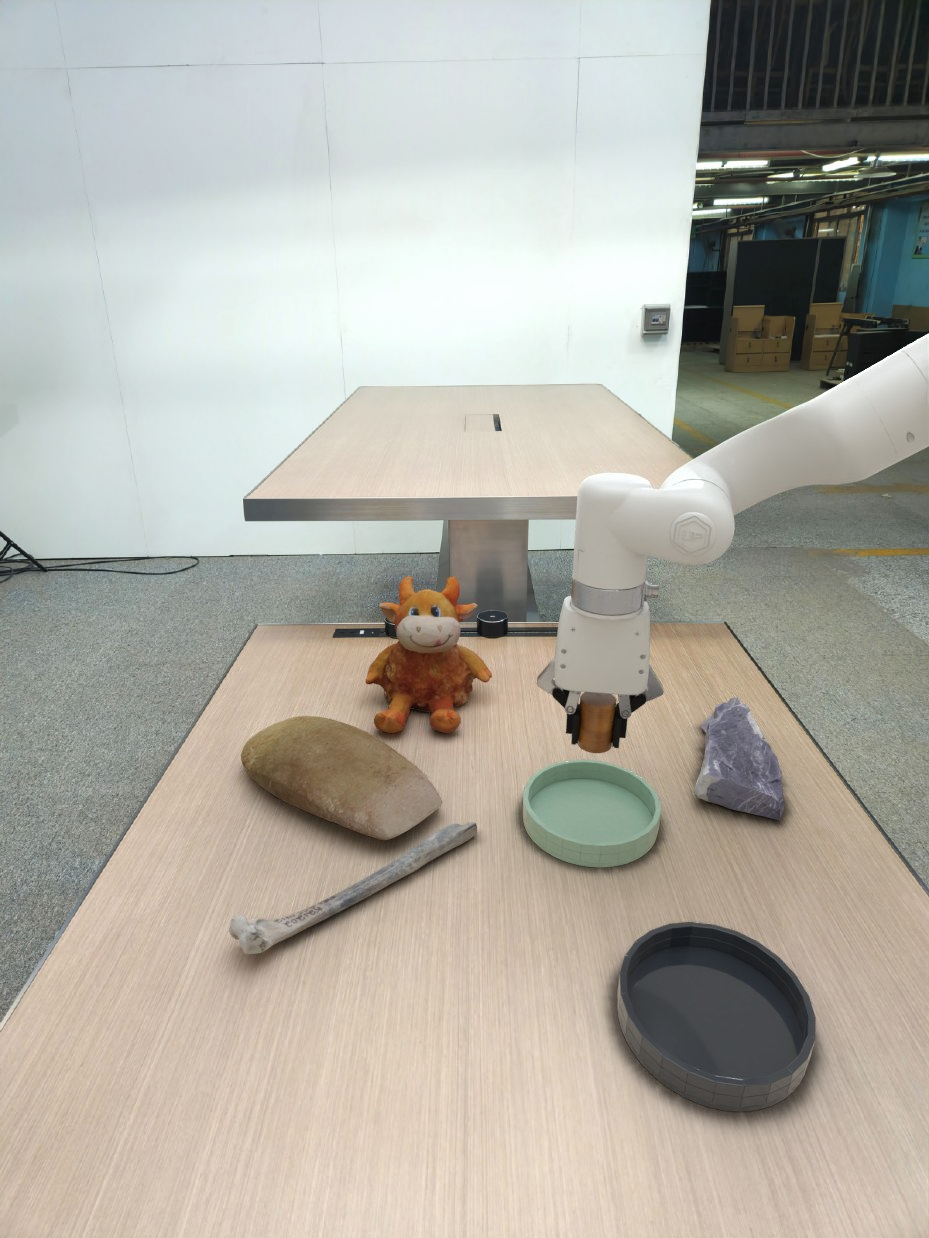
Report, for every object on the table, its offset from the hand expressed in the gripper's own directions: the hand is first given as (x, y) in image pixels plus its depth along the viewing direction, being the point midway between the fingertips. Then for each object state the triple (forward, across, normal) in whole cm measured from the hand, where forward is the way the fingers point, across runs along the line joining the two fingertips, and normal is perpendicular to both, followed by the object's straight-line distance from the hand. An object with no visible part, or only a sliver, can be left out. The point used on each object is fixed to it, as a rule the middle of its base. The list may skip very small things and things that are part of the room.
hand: (594, 738), depth 86 cm
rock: (+12, -19, -15) cm, 26 cm away
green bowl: (+12, 0, 0) cm, 12 cm away
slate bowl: (+12, -11, +26) cm, 30 cm away
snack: (+1, 0, 0) cm, 1 cm away
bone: (+12, +24, +15) cm, 30 cm away
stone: (+12, +32, -2) cm, 35 cm away
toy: (+12, +25, -25) cm, 37 cm away
